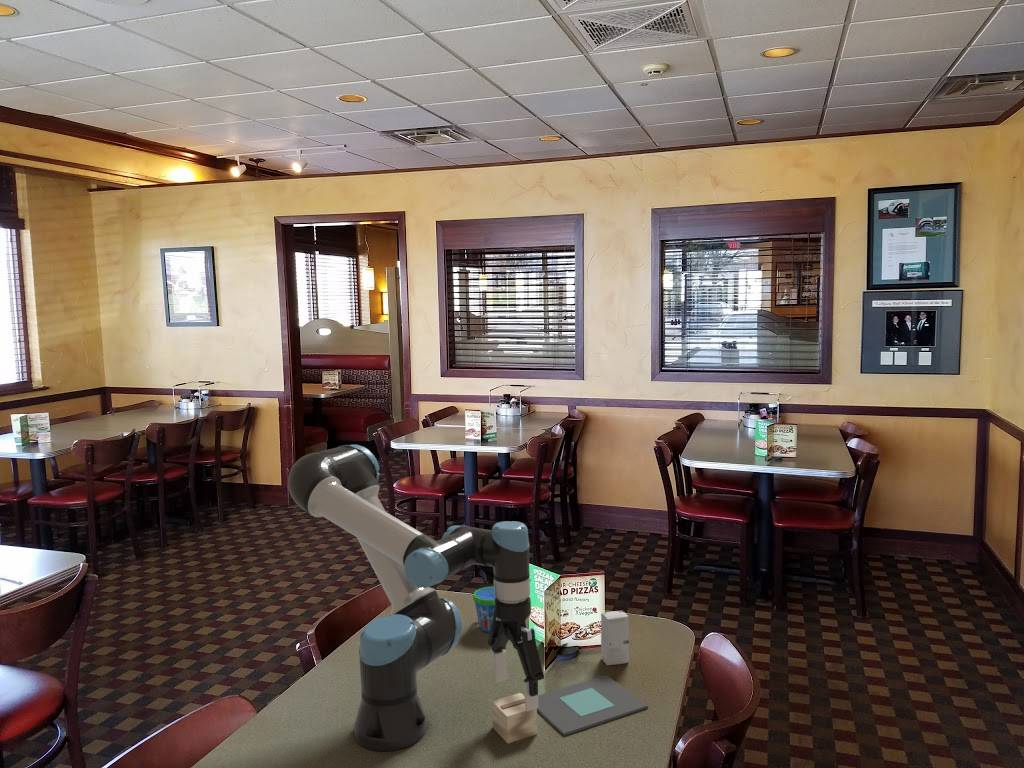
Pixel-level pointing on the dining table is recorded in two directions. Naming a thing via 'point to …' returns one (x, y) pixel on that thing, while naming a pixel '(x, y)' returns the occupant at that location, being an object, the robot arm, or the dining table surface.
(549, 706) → the rubber mat
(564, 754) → the dining table surface
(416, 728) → the robot arm
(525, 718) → the birch block
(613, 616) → the skincare box
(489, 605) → the snack cup
